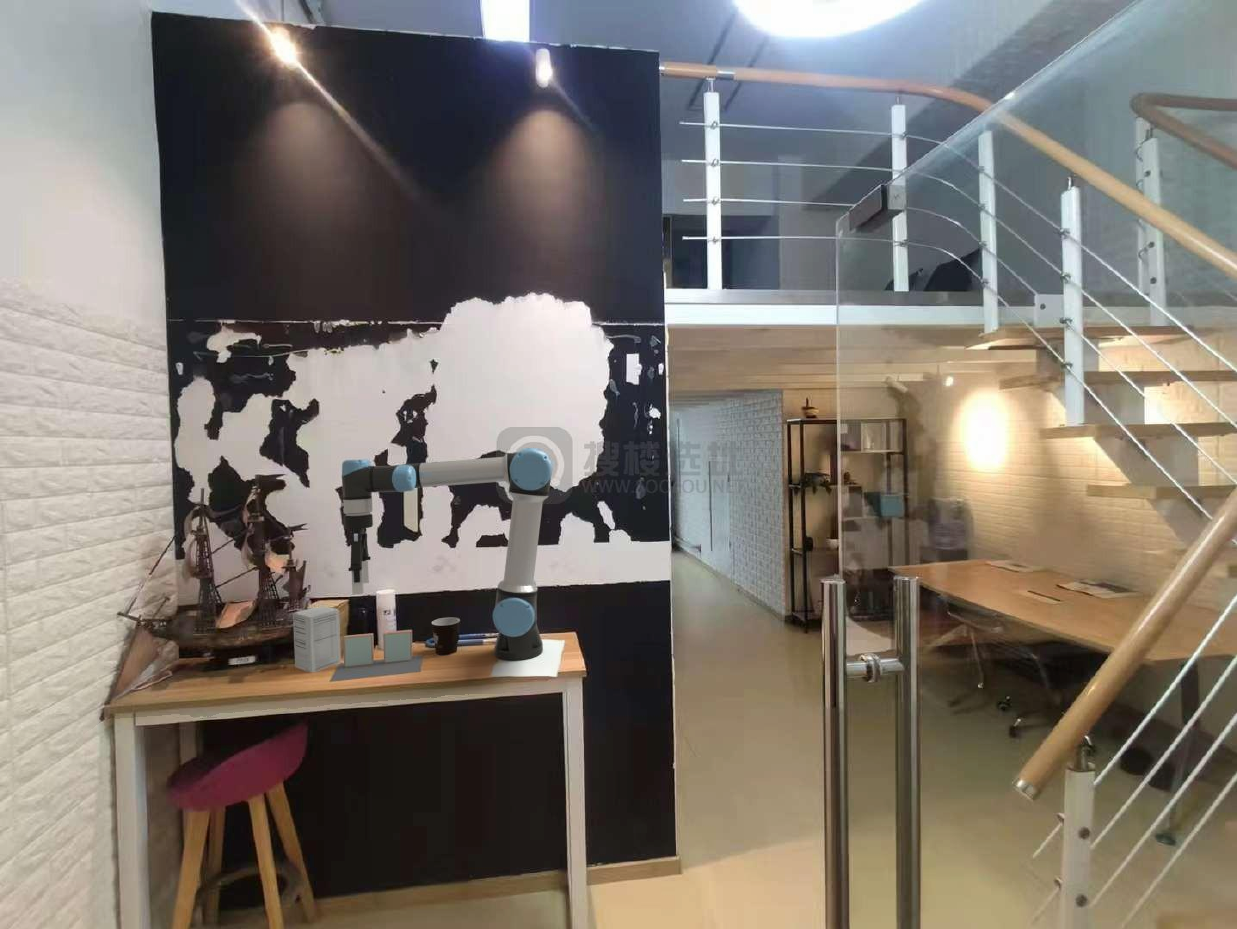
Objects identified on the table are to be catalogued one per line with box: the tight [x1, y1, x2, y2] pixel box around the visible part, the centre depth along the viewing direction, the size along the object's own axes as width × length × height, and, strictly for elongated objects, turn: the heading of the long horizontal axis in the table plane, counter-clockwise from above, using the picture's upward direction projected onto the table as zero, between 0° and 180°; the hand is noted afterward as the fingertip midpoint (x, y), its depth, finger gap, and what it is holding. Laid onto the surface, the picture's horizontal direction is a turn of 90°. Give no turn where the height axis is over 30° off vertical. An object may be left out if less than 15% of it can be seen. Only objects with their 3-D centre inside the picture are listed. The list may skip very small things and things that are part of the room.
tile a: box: [382, 629, 414, 663], centre depth 178 cm, size 8×2×9 cm, turn 105°
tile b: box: [343, 632, 375, 668], centre depth 175 cm, size 8×2×9 cm, turn 105°
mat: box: [329, 654, 424, 682], centre depth 173 cm, size 24×14×1 cm, turn 105°
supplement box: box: [292, 605, 342, 674], centre depth 175 cm, size 10×9×17 cm
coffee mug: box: [431, 616, 461, 656], centre depth 184 cm, size 12×9×10 cm
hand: (361, 588), depth 167 cm, fingers open, 13 cm apart
